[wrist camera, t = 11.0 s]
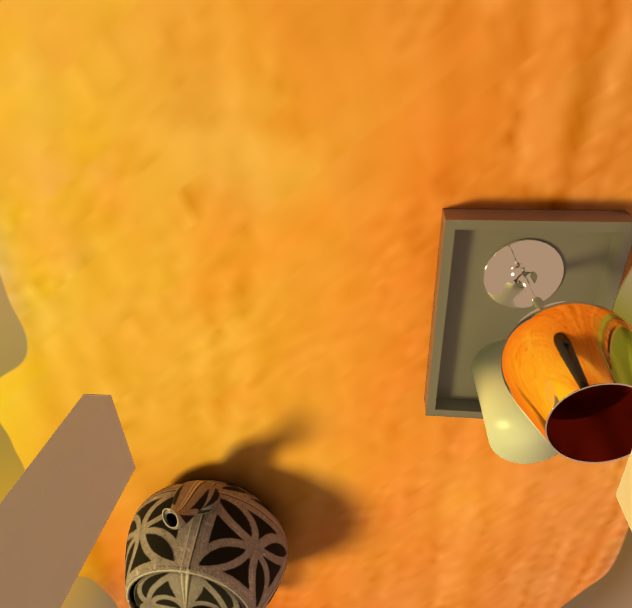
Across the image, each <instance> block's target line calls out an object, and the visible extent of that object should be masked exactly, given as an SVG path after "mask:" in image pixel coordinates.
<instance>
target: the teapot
mask: <svg viewBox="0 0 632 608" xmlns="http://www.w3.org/2000/svg"><path fill="white" fill-rule="evenodd" d="M287 560H288V545H287V540H286V536H285V533H284V531H283V528H282V526H281V524H280V523H279V521H278V519H277V518H276V517H275V515H274V514H273V513H272V512H271V511H270V510H269V509H268V508H267V507H266V506H265V505H264V504H263V503H262V502H261V501H260V500H259V499H258V498H257V497H256V496H254V495H253V494H251V493H250V492H248V491H246V490H244V489H242V488H240V487H238V486H235V485H232V484H229V483H225V482H221V481H215V480H194V481H188V482H183V483H179V484H175V485H171V486H168V487H166V488H164V489H162V490H160V491H158V492H156V493H154V494H153V495H151V496H150V497H149V498H148V499H147V500H146V501H145V502H144V503H143V504H142V505H141V506H140V508H139V509H138V510H137V512H136V514H135V516H134V518H133V521H132V523H131V526H130V530H129V533H128V539H127V545H126V555H125V589H126V599H127V601H128V604H129V606H130V608H266V606H267V605H268V603H269V602H270V600H271V599H272V597H273V595H274V594H275V592H276V590H277V589H278V586H279V584H280V582H281V580H282V578H283V575H284V572H285V569H286V565H287Z"/></svg>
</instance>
